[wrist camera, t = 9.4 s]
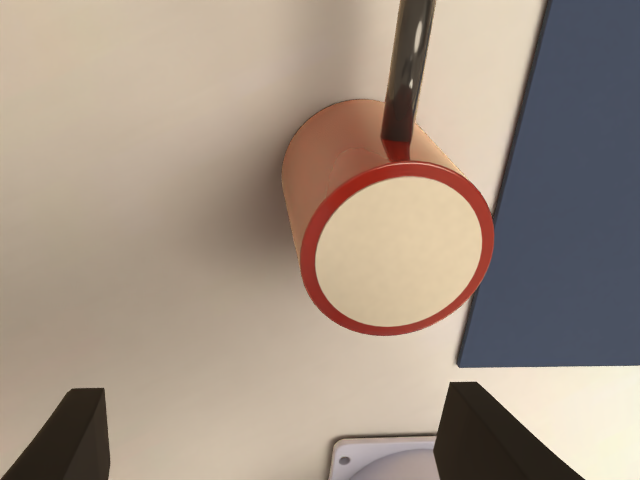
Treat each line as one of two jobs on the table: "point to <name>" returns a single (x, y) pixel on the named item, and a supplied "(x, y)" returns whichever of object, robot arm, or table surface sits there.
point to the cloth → (569, 203)
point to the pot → (385, 205)
